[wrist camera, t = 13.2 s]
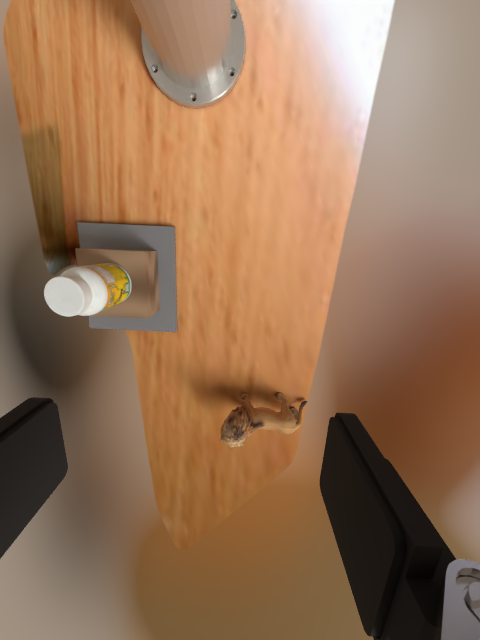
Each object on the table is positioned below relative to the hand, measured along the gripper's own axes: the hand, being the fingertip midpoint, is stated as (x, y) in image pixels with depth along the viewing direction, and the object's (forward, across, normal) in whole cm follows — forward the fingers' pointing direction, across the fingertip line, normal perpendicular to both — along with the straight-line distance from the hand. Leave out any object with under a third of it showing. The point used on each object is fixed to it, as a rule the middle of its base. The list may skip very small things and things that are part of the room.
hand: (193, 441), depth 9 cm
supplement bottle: (+27, +16, -1) cm, 31 cm away
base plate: (+32, +16, -1) cm, 36 cm away
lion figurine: (+33, -6, +20) cm, 39 cm away
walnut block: (+32, +16, -1) cm, 35 cm away
